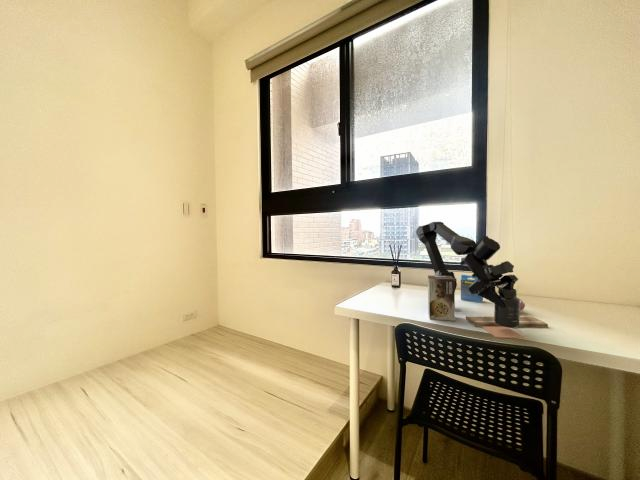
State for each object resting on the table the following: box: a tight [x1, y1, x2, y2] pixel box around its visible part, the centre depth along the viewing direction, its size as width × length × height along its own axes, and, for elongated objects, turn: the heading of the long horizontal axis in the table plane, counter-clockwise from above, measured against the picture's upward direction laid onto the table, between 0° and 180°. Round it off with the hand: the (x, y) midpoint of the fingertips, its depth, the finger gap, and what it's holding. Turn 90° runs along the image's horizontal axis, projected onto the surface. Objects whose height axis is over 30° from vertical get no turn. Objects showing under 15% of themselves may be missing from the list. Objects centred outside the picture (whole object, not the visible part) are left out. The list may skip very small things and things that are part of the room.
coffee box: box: [427, 275, 456, 322], centre depth 101 cm, size 9×6×16 cm
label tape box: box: [460, 274, 484, 304], centre depth 122 cm, size 9×4×12 cm, turn 49°
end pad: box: [482, 326, 526, 339], centre depth 86 cm, size 9×9×1 cm
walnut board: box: [465, 315, 549, 328], centre depth 94 cm, size 24×7×1 cm, turn 84°
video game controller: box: [517, 297, 526, 312], centre depth 107 cm, size 10×5×7 cm, turn 169°
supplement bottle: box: [493, 287, 521, 329], centre depth 86 cm, size 7×7×12 cm
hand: (511, 306), depth 85 cm, fingers closed on supplement bottle, 7 cm apart
